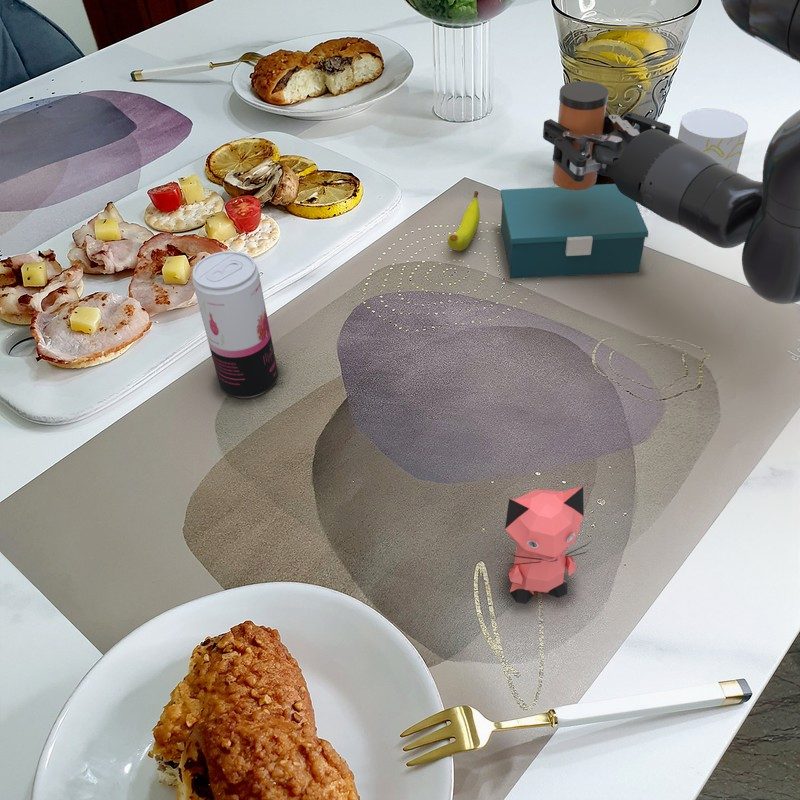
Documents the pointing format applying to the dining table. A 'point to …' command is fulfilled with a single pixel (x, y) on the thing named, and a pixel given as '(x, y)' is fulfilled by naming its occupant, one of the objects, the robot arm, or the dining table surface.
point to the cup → (715, 134)
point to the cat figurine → (543, 540)
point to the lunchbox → (571, 231)
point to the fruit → (466, 227)
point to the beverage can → (236, 323)
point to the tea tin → (581, 123)
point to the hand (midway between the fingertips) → (565, 121)
